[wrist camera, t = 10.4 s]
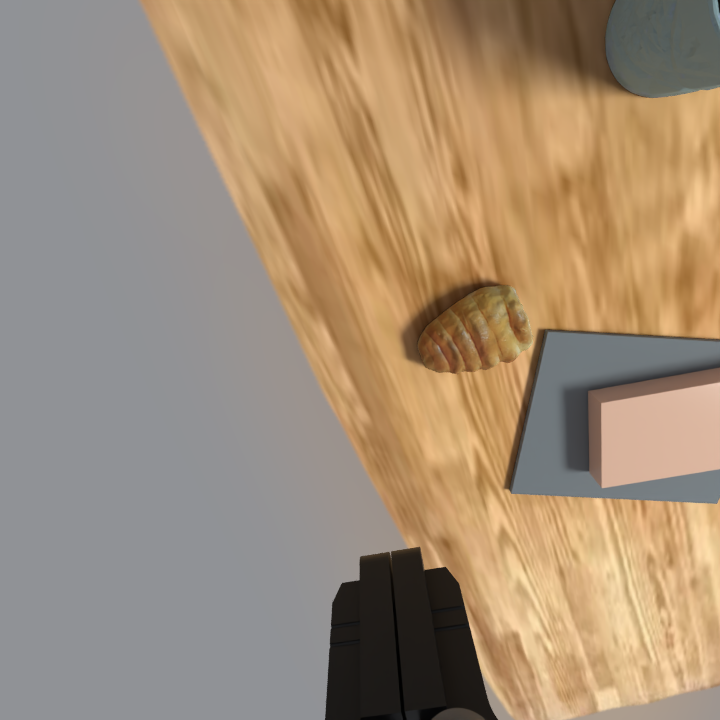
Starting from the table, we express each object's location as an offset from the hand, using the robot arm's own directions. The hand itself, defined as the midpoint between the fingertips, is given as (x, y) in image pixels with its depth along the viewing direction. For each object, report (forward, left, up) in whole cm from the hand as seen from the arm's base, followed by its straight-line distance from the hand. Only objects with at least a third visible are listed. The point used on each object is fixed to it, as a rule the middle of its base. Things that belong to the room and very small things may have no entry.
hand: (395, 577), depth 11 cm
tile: (+12, +21, -27) cm, 36 cm away
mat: (+11, +26, -29) cm, 40 cm away
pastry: (+2, +10, -30) cm, 31 cm away
